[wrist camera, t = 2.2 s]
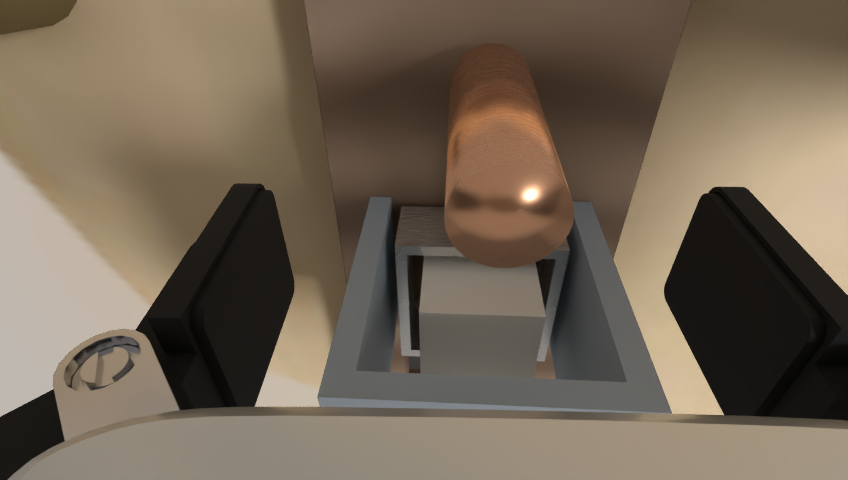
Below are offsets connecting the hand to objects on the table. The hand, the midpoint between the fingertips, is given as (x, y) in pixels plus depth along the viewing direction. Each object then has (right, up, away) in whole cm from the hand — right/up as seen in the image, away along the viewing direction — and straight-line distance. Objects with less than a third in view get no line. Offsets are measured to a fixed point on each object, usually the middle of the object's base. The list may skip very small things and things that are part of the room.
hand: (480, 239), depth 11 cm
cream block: (+1, -1, +14) cm, 14 cm away
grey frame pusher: (+1, +2, +12) cm, 12 cm away
